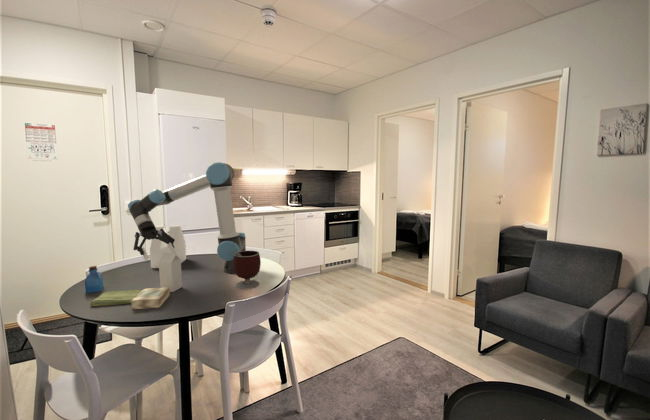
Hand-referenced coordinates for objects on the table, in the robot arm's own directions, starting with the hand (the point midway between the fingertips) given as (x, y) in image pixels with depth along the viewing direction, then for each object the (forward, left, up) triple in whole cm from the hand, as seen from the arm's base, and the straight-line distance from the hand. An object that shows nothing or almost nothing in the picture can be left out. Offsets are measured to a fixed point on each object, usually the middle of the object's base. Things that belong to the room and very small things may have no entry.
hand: (161, 256), depth 157 cm
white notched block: (+11, -46, -17) cm, 50 cm away
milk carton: (-5, +4, -16) cm, 18 cm away
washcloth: (+15, +14, -17) cm, 27 cm away
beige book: (-1, +19, -16) cm, 25 cm away
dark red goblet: (-42, +5, -16) cm, 46 cm away
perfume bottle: (+33, -2, -16) cm, 37 cm away
